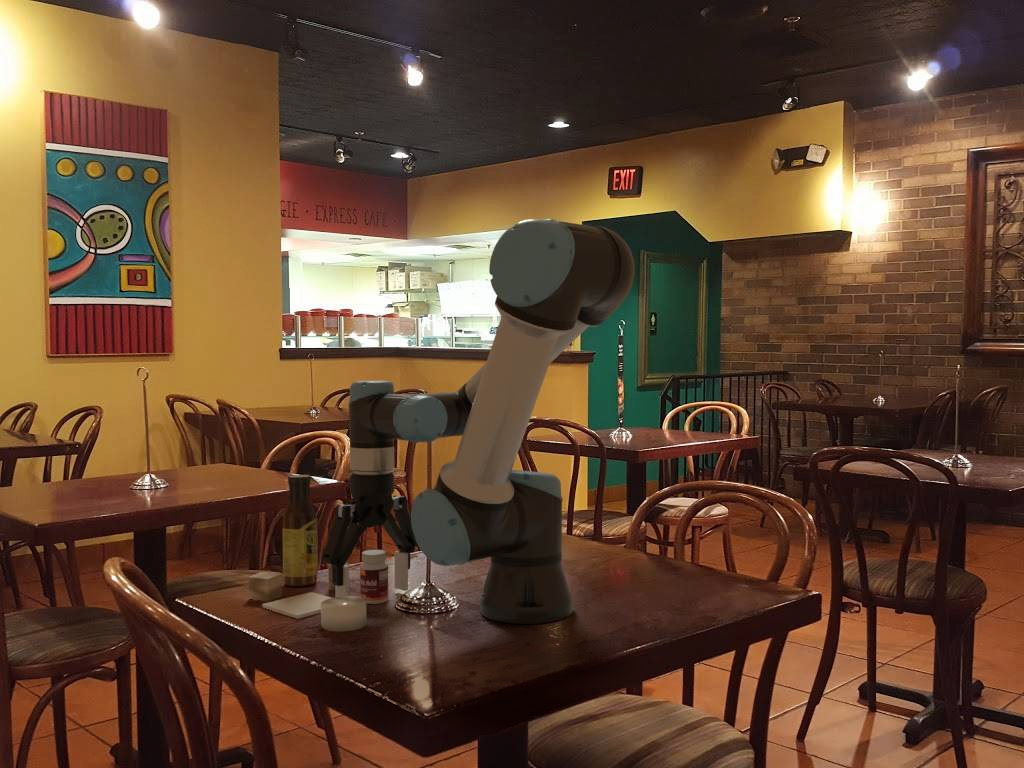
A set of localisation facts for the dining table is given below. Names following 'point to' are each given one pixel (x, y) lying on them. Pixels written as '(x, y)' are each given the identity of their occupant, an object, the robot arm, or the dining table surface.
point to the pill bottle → (374, 577)
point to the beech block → (265, 586)
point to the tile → (298, 605)
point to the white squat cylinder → (343, 613)
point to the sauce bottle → (300, 534)
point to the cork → (331, 586)
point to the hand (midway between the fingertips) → (372, 596)
